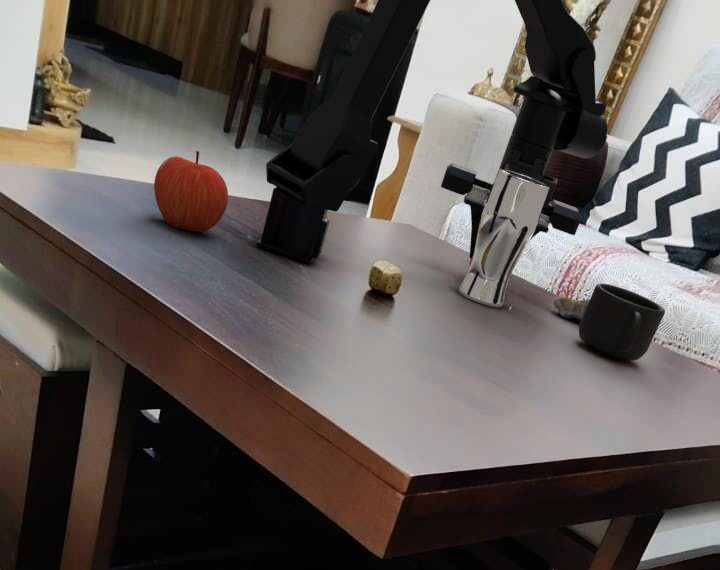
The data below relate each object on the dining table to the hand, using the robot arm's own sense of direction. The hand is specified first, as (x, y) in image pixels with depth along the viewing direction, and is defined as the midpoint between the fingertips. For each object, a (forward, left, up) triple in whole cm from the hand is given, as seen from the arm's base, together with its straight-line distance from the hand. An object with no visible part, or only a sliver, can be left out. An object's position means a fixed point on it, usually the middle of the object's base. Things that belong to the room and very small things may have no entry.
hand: (487, 264), depth 135 cm
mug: (+17, -17, -3) cm, 24 cm away
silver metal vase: (0, -10, -3) cm, 10 cm away
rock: (+16, -2, -3) cm, 16 cm away
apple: (-35, -28, -3) cm, 45 cm away
